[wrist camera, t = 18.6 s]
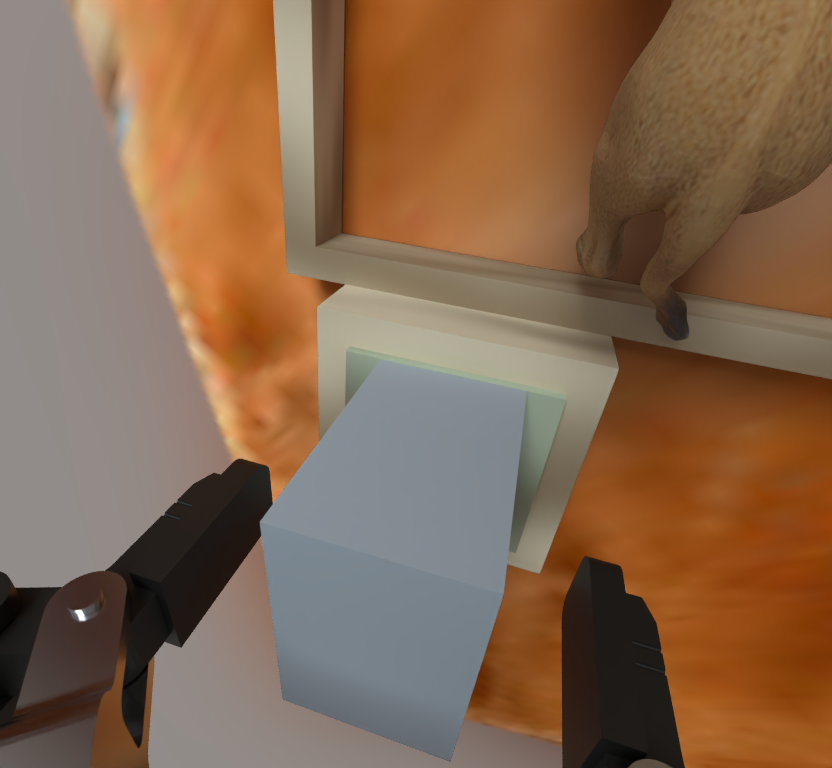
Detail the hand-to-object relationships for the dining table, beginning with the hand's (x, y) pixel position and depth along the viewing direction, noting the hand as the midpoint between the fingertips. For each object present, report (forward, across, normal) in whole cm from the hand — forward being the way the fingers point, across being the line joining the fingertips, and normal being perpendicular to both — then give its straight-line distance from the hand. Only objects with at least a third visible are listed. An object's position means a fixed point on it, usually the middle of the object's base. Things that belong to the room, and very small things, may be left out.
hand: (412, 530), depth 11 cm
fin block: (+3, 0, 0) cm, 3 cm away
